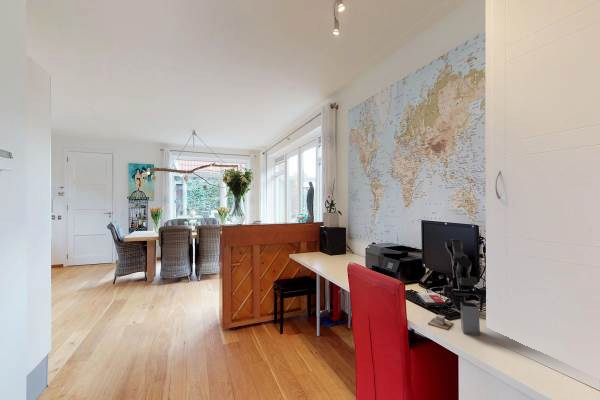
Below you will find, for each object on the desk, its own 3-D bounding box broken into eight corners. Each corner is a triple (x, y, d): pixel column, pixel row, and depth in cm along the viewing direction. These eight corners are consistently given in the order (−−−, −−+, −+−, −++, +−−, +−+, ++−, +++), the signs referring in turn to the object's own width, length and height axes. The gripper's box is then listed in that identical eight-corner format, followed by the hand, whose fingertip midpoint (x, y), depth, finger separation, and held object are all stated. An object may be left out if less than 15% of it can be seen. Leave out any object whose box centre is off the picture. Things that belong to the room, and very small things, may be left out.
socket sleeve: (461, 327, 120) (460, 301, 120) (476, 329, 117) (475, 302, 118) (463, 333, 114) (462, 305, 115) (480, 336, 112) (478, 307, 112)
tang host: (434, 319, 130) (434, 311, 130) (453, 325, 124) (452, 316, 124) (427, 325, 124) (427, 316, 124) (447, 331, 118) (446, 321, 118)
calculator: (425, 301, 144) (416, 291, 159) (425, 309, 144) (416, 298, 159) (446, 302, 143) (435, 291, 158) (446, 309, 143) (435, 298, 158)
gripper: (442, 268, 127) (446, 298, 116) (489, 271, 119) (497, 304, 109) (441, 280, 133) (444, 310, 123) (485, 284, 126) (492, 316, 116)
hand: (468, 310), depth 117 cm, fingers open, 9 cm apart
